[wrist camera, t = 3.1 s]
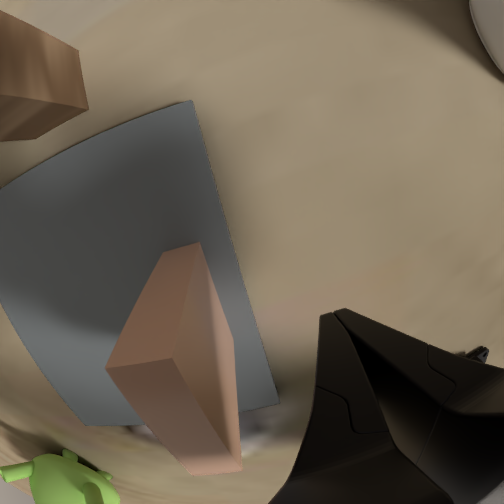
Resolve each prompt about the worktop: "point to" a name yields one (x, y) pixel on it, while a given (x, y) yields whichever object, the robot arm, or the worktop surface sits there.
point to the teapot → (63, 480)
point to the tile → (182, 364)
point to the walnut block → (36, 81)
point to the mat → (117, 256)
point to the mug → (490, 27)
